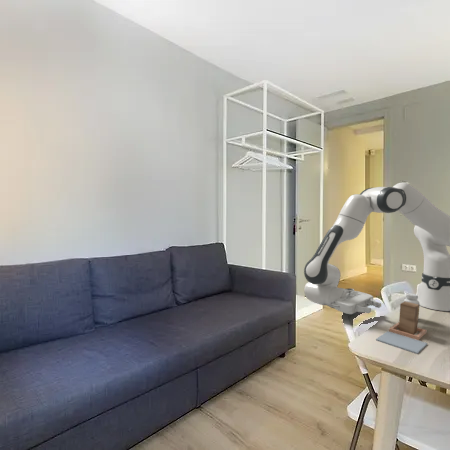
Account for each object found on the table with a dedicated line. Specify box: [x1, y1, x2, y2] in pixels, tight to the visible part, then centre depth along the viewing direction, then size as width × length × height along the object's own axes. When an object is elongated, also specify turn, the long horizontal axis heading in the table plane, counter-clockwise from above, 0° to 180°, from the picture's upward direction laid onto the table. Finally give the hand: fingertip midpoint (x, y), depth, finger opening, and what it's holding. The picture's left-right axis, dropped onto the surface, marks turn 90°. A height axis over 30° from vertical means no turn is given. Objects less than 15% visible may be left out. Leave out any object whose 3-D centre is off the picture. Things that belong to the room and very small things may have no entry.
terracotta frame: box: [388, 321, 427, 341], centre depth 109 cm, size 9×9×1 cm
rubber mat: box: [375, 330, 428, 355], centre depth 100 cm, size 10×12×1 cm
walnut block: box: [398, 301, 420, 335], centre depth 109 cm, size 4×4×10 cm
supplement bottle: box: [403, 292, 420, 319], centre depth 122 cm, size 5×5×10 cm
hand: (375, 308), depth 117 cm, fingers open, 8 cm apart
